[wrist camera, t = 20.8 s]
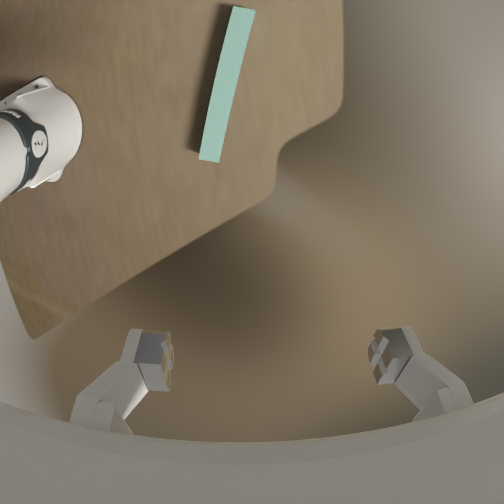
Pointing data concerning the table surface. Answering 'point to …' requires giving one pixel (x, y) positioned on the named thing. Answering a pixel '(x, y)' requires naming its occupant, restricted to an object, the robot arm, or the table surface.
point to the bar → (225, 82)
